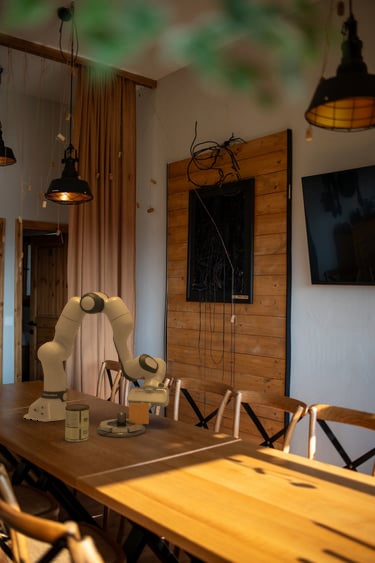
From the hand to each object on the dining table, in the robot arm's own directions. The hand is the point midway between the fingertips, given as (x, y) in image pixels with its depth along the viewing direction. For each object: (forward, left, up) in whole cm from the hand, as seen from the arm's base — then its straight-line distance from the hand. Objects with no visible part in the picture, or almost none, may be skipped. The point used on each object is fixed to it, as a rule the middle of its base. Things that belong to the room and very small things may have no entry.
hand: (143, 412), depth 253 cm
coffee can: (-21, -26, -8) cm, 34 cm away
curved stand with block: (-7, -7, -6) cm, 12 cm away
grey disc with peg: (-8, -8, -8) cm, 14 cm away
